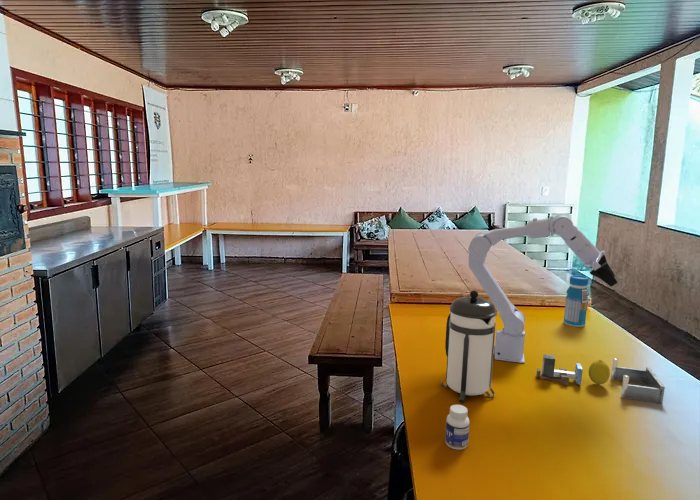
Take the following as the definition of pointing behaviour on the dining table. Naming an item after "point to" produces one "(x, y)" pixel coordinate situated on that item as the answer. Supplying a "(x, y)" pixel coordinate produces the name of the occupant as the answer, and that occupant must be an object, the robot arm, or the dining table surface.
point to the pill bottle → (457, 427)
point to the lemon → (599, 372)
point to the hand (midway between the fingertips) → (613, 281)
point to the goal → (648, 377)
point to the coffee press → (470, 345)
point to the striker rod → (551, 372)
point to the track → (562, 379)
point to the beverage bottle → (576, 301)
